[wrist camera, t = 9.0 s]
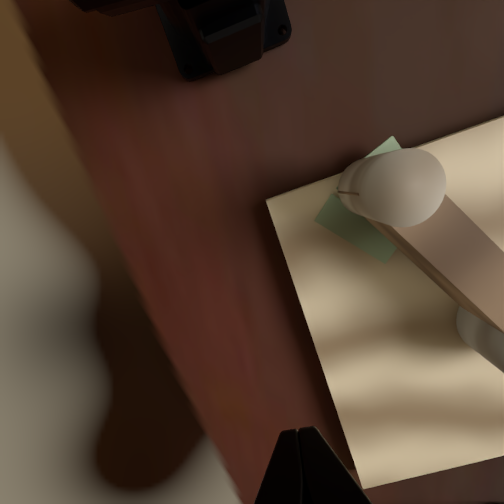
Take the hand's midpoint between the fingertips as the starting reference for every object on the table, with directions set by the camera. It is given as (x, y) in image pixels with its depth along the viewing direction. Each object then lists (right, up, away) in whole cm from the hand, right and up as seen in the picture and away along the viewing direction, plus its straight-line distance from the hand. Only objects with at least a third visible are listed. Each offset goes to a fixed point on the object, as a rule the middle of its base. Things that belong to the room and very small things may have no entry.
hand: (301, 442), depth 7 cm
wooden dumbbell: (+10, +4, +10) cm, 15 cm away
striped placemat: (+14, +1, +13) cm, 19 cm away
